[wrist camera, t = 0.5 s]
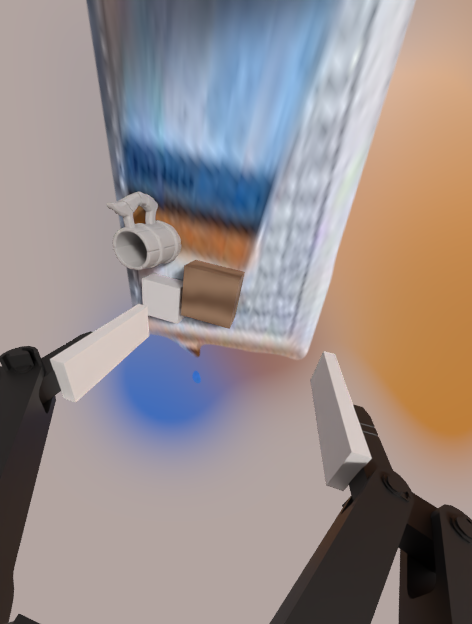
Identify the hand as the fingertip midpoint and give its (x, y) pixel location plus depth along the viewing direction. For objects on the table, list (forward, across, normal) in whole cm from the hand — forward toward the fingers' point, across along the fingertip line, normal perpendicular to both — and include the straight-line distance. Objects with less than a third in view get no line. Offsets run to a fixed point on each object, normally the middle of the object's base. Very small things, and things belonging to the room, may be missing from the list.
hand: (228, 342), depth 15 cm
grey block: (+26, -18, -11) cm, 33 cm away
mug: (+26, -20, +2) cm, 33 cm away
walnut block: (+26, -8, -7) cm, 28 cm away
